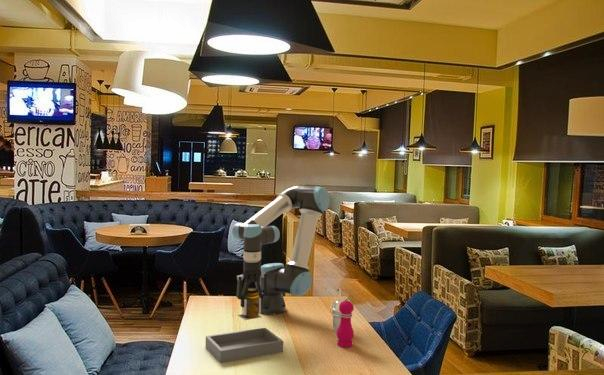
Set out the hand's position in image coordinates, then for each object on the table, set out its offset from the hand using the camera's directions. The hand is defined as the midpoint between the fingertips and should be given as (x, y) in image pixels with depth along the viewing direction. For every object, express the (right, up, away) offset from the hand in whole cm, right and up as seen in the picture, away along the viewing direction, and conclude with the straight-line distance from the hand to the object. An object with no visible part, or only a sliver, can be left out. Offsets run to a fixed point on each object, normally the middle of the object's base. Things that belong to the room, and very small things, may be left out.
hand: (251, 312), depth 226 cm
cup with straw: (+38, -10, +6) cm, 40 cm away
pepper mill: (+40, -11, -11) cm, 42 cm away
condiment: (-1, -2, 0) cm, 2 cm away
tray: (-1, -10, -20) cm, 22 cm away
